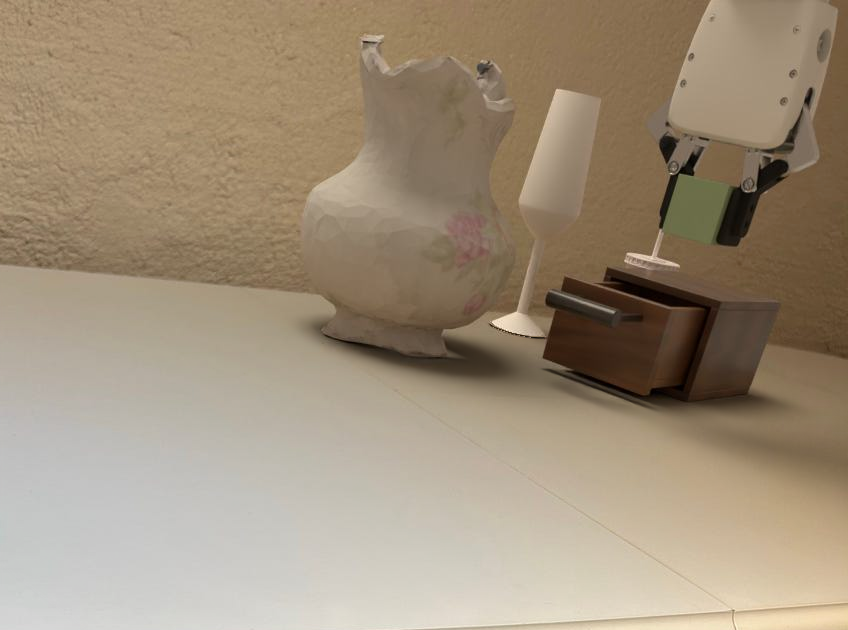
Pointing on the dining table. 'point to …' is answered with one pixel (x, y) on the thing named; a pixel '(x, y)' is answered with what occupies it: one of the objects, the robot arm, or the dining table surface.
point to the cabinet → (714, 331)
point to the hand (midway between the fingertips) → (698, 235)
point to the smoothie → (650, 259)
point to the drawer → (624, 333)
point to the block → (697, 209)
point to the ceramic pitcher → (414, 207)
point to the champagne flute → (554, 187)
